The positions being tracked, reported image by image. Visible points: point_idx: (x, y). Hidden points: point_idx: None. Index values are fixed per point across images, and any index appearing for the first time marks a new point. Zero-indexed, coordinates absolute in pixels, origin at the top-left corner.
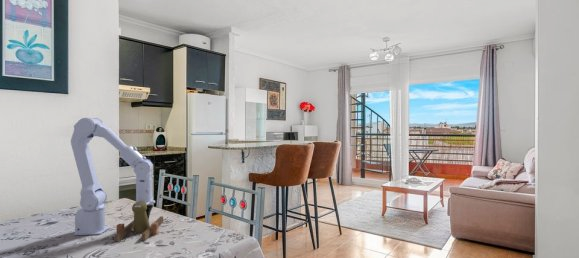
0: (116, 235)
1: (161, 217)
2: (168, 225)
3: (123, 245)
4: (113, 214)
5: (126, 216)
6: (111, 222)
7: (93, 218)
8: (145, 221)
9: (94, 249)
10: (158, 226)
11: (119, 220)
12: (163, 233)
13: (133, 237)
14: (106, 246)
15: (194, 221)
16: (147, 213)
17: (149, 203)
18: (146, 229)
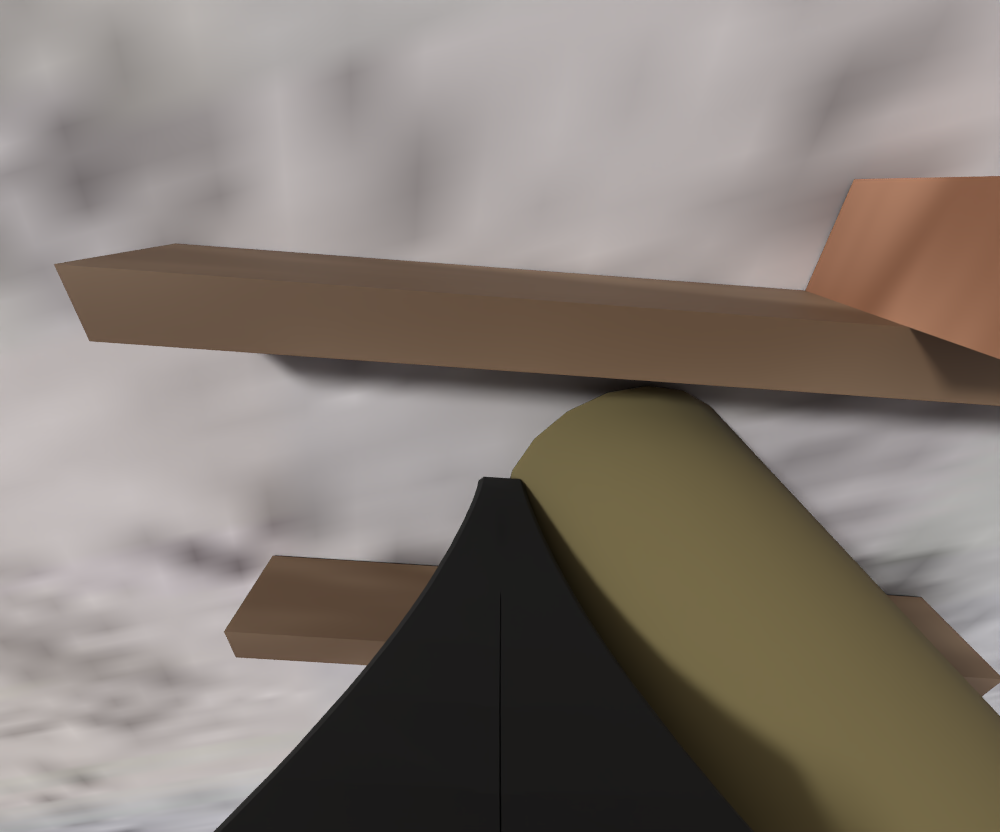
0: (980, 684)
1: (165, 287)
2: (378, 40)
3: None
4: (77, 762)
5: (88, 695)
6: (288, 735)
7: None
8: (841, 549)
9: (993, 688)
10: (482, 269)
11: (223, 709)
12: (967, 24)
13: (852, 504)
14: (984, 643)
15: None
16: (634, 702)
17: None
18: (727, 425)
